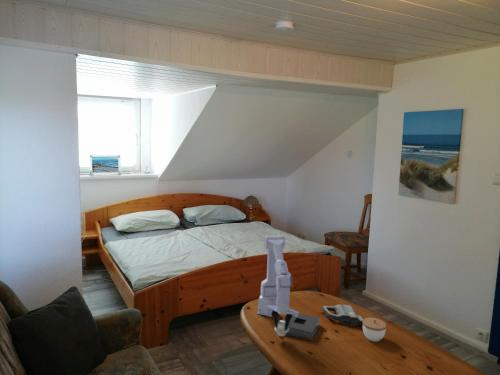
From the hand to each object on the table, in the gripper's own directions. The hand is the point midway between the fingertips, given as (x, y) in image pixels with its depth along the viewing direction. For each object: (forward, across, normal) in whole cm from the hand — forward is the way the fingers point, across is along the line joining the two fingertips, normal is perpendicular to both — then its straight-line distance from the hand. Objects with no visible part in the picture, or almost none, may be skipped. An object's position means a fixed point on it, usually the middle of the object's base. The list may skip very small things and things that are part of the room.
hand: (281, 327), depth 174 cm
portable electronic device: (+7, +22, +34) cm, 42 cm away
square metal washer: (+6, +5, +14) cm, 16 cm away
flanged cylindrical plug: (+3, 0, 0) cm, 3 cm away
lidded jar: (+6, +39, +21) cm, 45 cm away
